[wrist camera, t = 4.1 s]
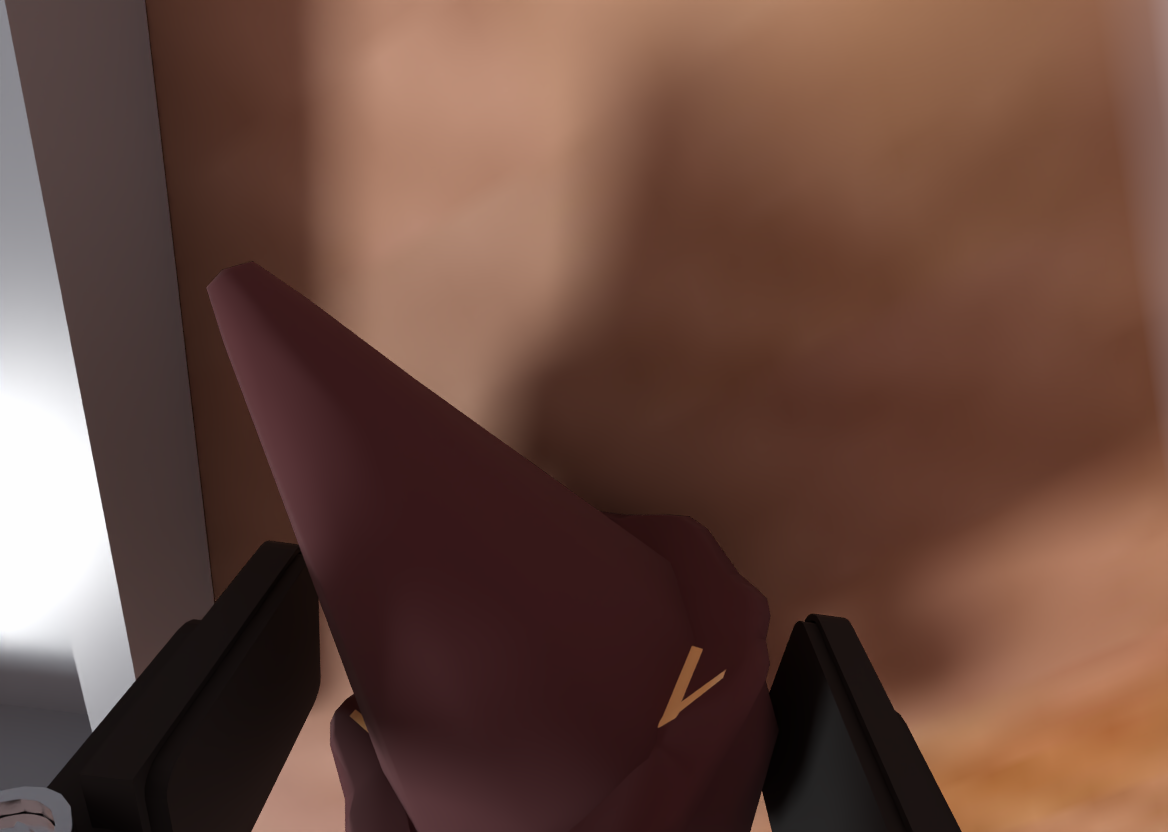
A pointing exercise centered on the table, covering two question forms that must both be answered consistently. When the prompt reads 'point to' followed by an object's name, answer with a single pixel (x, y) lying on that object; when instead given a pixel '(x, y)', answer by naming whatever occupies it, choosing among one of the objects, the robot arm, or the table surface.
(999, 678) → the table surface
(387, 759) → the icecream
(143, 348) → the serving tray
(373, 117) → the table surface
